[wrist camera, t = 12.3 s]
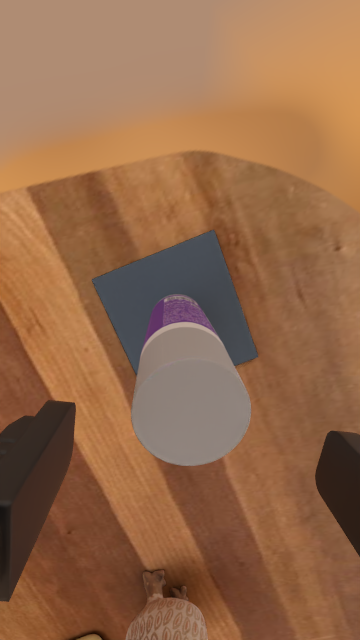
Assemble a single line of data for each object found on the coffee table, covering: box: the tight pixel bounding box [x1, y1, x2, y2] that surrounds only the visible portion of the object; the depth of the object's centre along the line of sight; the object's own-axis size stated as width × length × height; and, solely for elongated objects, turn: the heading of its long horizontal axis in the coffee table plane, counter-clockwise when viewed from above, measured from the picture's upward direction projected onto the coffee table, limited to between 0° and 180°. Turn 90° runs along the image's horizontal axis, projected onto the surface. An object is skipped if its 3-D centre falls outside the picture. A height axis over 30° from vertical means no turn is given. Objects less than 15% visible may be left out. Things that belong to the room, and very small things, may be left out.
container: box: [131, 294, 251, 466], centre depth 18 cm, size 5×5×15 cm
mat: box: [92, 230, 258, 376], centre depth 25 cm, size 12×11×1 cm
